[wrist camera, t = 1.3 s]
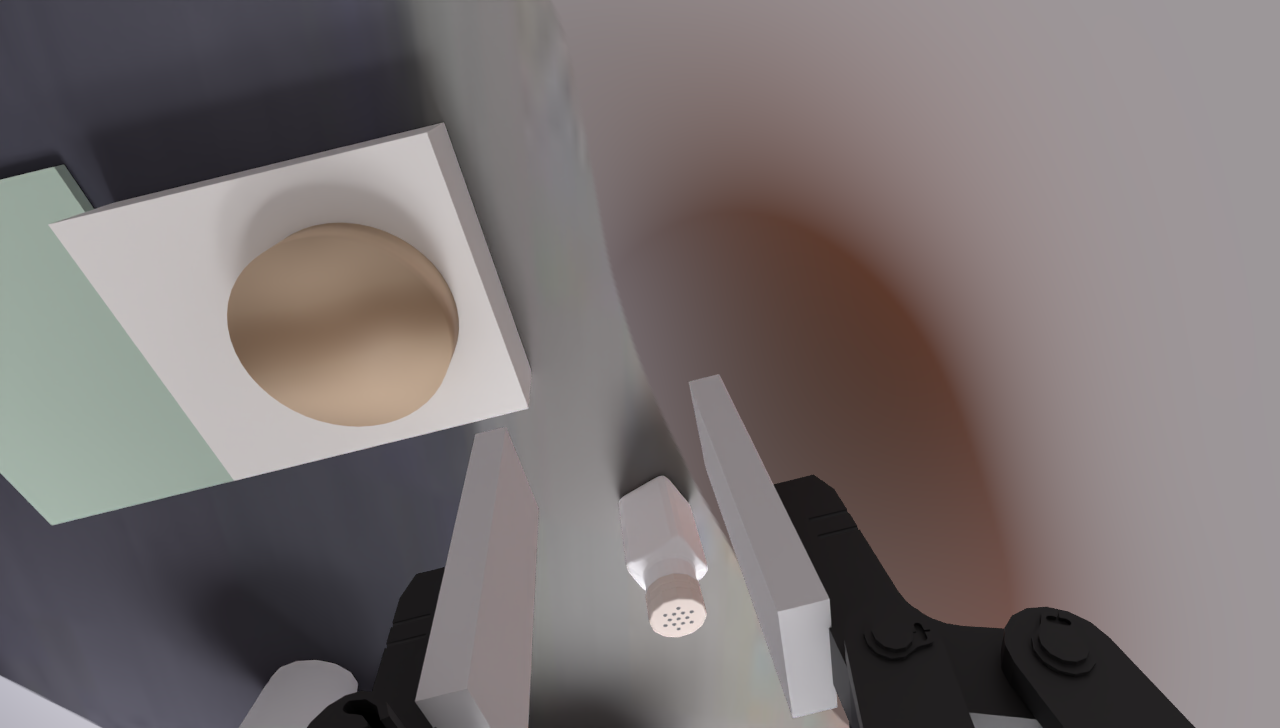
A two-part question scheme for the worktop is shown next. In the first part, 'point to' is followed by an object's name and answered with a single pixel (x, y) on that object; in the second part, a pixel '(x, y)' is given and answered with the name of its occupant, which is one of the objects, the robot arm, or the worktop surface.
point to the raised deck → (259, 219)
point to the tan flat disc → (344, 324)
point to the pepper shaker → (664, 556)
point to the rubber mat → (79, 376)
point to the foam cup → (299, 694)
